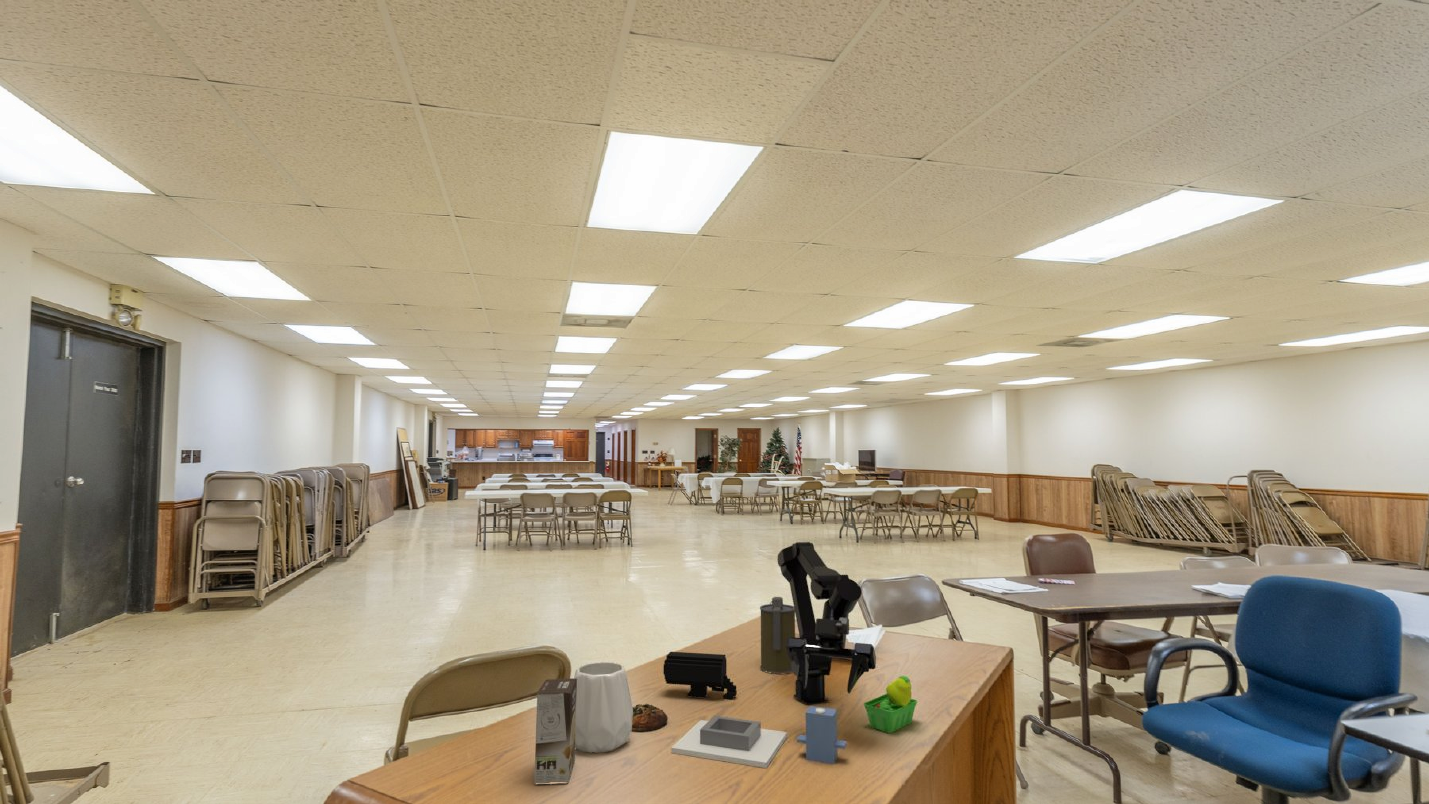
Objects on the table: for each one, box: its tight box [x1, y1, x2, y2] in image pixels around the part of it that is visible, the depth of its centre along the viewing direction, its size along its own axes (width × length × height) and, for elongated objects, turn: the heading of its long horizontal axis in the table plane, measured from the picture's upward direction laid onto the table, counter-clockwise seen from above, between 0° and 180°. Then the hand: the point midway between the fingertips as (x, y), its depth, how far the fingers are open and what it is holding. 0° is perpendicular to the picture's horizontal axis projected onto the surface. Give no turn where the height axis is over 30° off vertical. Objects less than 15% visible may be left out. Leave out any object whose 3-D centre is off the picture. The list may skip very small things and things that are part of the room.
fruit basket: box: [863, 675, 918, 734], centre depth 148 cm, size 11×9×11 cm
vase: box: [573, 661, 633, 754], centre depth 139 cm, size 14×14×15 cm
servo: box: [796, 705, 848, 765], centre depth 131 cm, size 10×4×10 cm, turn 69°
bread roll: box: [631, 703, 669, 732], centre depth 150 cm, size 11×11×5 cm
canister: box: [759, 596, 796, 675], centre depth 191 cm, size 11×10×20 cm
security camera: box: [663, 651, 738, 701], centre depth 168 cm, size 7×18×10 cm, turn 78°
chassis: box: [670, 715, 788, 769], centre depth 138 cm, size 20×16×4 cm
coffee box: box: [533, 677, 577, 784], centre depth 125 cm, size 9×6×16 cm
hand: (826, 689), depth 137 cm, fingers open, 9 cm apart
